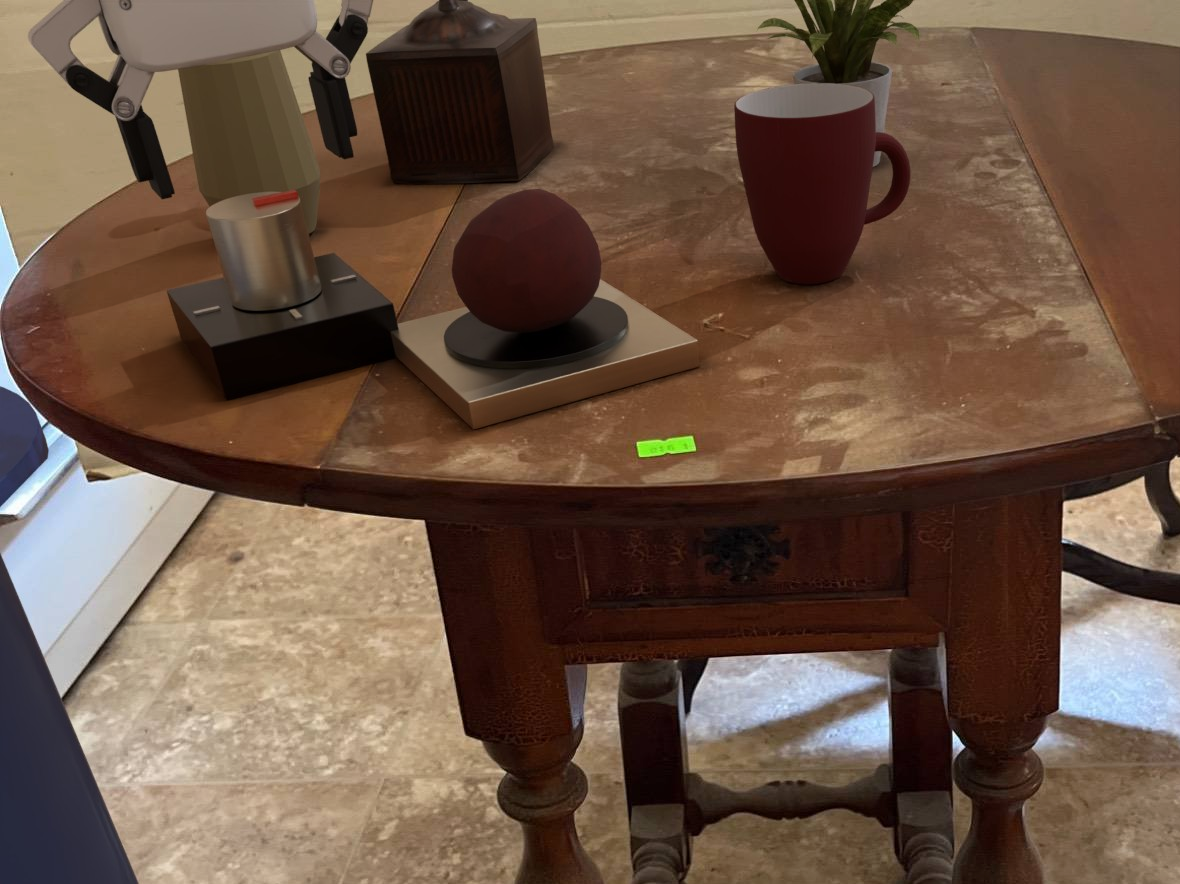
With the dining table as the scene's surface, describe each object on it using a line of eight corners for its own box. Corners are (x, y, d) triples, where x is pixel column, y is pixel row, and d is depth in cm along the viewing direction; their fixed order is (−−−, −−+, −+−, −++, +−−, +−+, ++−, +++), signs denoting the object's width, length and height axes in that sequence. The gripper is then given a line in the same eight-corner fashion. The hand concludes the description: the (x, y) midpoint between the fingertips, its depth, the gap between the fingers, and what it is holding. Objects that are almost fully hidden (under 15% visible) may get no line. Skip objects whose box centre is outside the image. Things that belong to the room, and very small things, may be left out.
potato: (432, 342, 79) (405, 210, 75) (536, 291, 84) (516, 166, 80) (535, 366, 75) (514, 228, 71) (637, 311, 81) (622, 180, 77)
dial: (243, 318, 80) (216, 220, 77) (221, 293, 84) (194, 198, 81) (332, 297, 82) (309, 200, 79) (307, 273, 86) (284, 180, 82)
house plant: (731, 200, 103) (712, -63, 93) (731, 146, 114) (715, -94, 104) (935, 187, 102) (938, -79, 93) (916, 134, 113) (916, -108, 104)
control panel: (226, 400, 79) (209, 343, 77) (181, 339, 87) (165, 287, 85) (404, 355, 83) (392, 300, 81) (345, 301, 90) (333, 249, 89)
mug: (866, 235, 95) (863, 69, 89) (937, 268, 89) (939, 93, 83) (721, 270, 91) (708, 99, 85) (786, 307, 85) (777, 126, 79)
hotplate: (473, 430, 74) (466, 394, 73) (390, 352, 83) (383, 319, 82) (700, 366, 79) (697, 332, 78) (597, 299, 88) (593, 268, 87)
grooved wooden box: (560, 142, 118) (525, -116, 107) (521, 182, 109) (478, -94, 98) (378, 145, 120) (326, -106, 110) (325, 186, 112) (262, -83, 101)
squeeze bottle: (197, 256, 99) (111, -41, 89) (236, 219, 106) (161, -62, 95) (314, 251, 99) (242, -49, 88) (346, 214, 105) (283, -70, 95)
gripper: (307, -226, 75) (384, 126, 85) (-56, -182, 68) (76, 192, 79) (352, -222, 69) (429, 153, 80) (-37, -175, 63) (101, 226, 73)
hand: (253, 172), depth 79 cm, fingers open, 9 cm apart
